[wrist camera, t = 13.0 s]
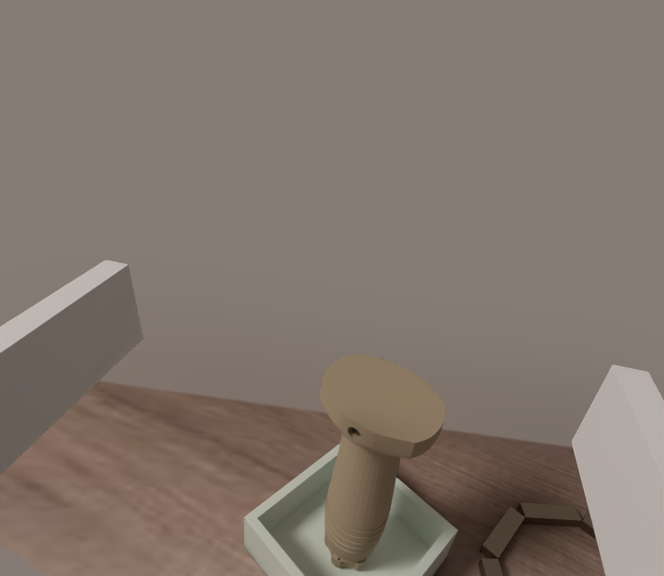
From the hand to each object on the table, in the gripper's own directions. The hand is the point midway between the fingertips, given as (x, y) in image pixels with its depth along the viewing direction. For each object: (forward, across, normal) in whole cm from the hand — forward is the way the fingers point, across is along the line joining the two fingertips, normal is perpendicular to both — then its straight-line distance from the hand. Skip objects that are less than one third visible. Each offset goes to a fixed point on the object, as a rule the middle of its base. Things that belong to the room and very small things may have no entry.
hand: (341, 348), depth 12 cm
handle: (+7, +1, -23) cm, 24 cm away
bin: (+7, 0, -24) cm, 25 cm away
